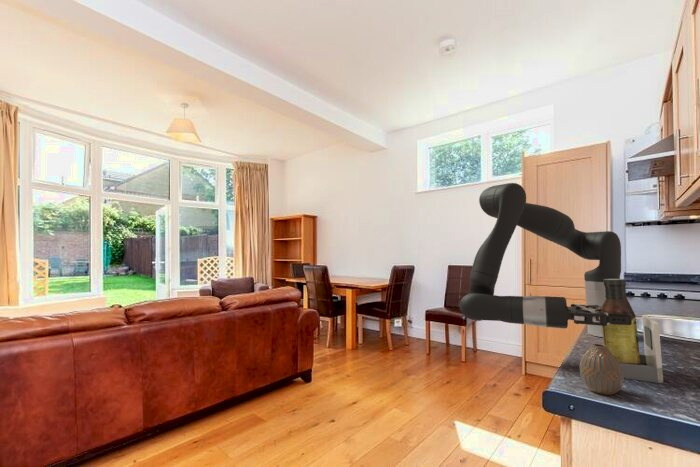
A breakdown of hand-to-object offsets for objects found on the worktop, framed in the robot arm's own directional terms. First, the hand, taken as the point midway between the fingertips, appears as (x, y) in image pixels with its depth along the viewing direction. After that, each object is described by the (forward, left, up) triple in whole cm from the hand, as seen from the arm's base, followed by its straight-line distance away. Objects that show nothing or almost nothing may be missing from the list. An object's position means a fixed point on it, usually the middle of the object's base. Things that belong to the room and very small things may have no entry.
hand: (627, 316), depth 76 cm
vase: (+15, -7, -13) cm, 21 cm away
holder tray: (0, -1, -12) cm, 12 cm away
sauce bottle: (0, -2, -12) cm, 12 cm away
